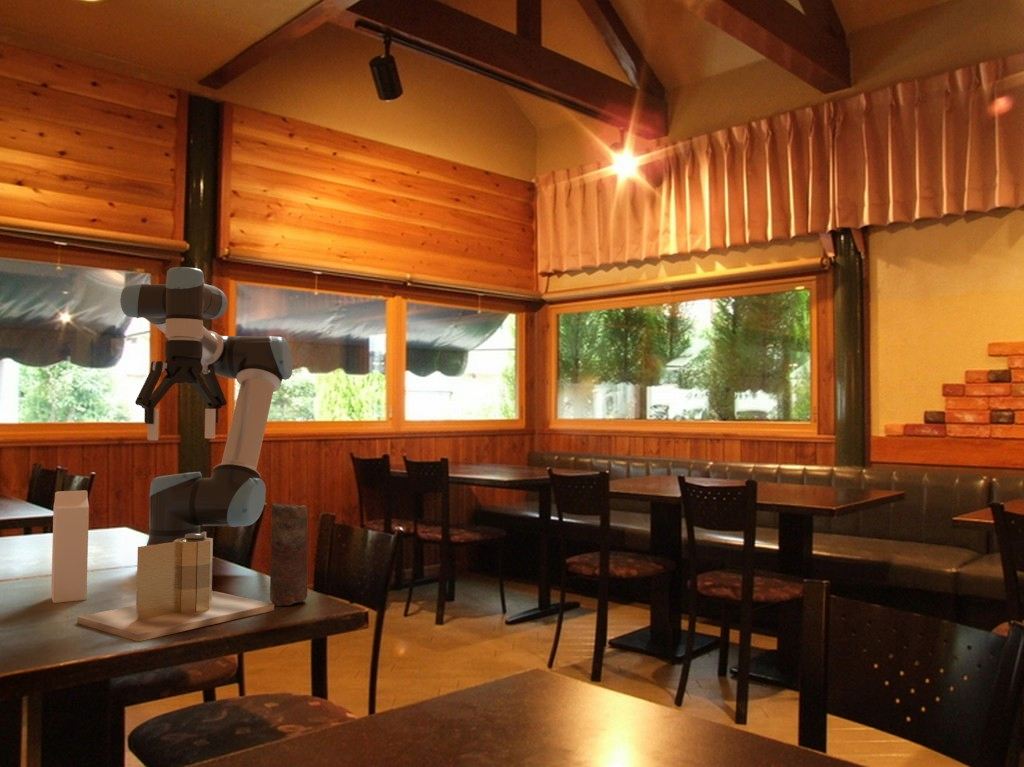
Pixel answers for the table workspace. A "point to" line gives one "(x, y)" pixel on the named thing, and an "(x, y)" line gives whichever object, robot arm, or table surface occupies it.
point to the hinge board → (173, 618)
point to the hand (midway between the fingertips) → (182, 439)
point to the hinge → (174, 578)
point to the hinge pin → (194, 537)
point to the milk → (70, 546)
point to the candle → (288, 554)
